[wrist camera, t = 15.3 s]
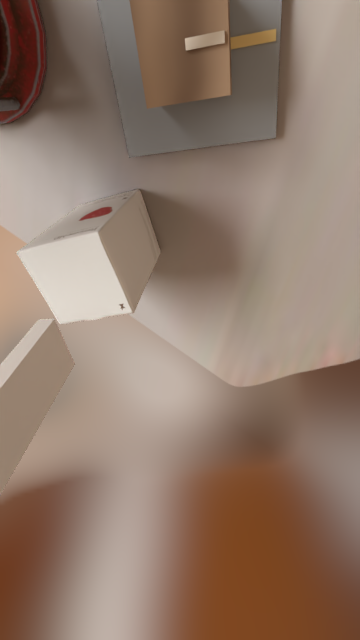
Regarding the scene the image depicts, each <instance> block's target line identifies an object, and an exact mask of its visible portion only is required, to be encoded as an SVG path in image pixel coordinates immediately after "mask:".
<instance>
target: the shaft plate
mask: <svg viewBox="0 0 360 640" xmlns="http://www.w3.org/2000/svg"><path fill="white" fill-rule="evenodd" d="M229 1H230V39H231V76H232V95H228V96H222V97H216V98H210V99H204V100H198V101H191V102H185V103H179V104H173V105H167V106H161V107H155V108H148V109H147V106H146V100H145V94H144V88H143V82H142V75H141V69H140V63H139V57H138V51H137V45H136V38H135V32H134V26H133V20H132V14H131V7H130V1H129V0H97V3H98V8H99V13H100V18H101V23H102V27H103V32H104V37H105V42H106V47H107V52H108V57H109V61H110V66H111V71H112V76H113V81H114V86H115V91H116V96H117V100H118V105H119V110H120V115H121V120H122V125H123V130H124V134H125V139H126V144H127V149H128V154H129V158H130V157H137V156H145V155H152V154H160V153H167V152H175V151H182V150H190V149H197V148H204V147H212V146H219V145H227V144H234V143H242V142H249V141H257V140H264V139H272V138H276V123H277V100H278V78H279V55H280V33H281V10H282V0H229Z"/></svg>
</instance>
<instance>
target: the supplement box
mask: <svg viewBox="0 0 360 640" xmlns="http://www.w3.org/2000/svg"><path fill="white" fill-rule="evenodd" d="M160 253H161V251H160V248H159V245H158V242H157V239H156V236H155V233H154V230H153V227H152V224H151V221H150V218H149V215H148V212H147V209H146V206H145V202H144V199H143V197H142V194H141V191H140V189H136V190H132V191H128V192H125V193H121V194H117V195H114V196H110V197H106V198H103V199H99V200H95V201H92V202H88V203H85V204H81V205H79V206H78V207H76V208H75V209H74V210H72V211H71V212H69V213H68V214H67V215H65V216H64V217H63V218H61V219H60V220H59V221H57V222H56V223H55V224H53V225H52V226H51V227H49V228H48V229H47V230H46V231H44V232H43V233H41V234H40V235H39V236H38V237H36V238H35V239H34V240H32V241H31V242H30V243H28V244H27V245H25V246H24V247H23V248H21V249H20V250H19V251H17V255H18V256H19V257H20V259H21V261H22V263H23V265H24V266H25V268H26V270H27V271H28V273H29V274H30V276H31V277H32V279H33V280H34V282H35V284H36V285H37V287H38V289H39V290H40V292H41V294H42V295H43V297H44V298H45V300H46V302H47V303H48V305H49V307H50V309H51V310H52V312H53V314H54V315H55V317H56V319H57V320H58V322H59V323H60V324H68V323H74V322H80V321H85V320H98V319H101V318H105V317H111V316H118V315H124V314H130V313H134V311H135V309H136V307H137V304H138V302H139V300H140V298H141V295H142V293H143V291H144V289H145V286H146V284H147V282H148V280H149V278H150V275H151V273H152V271H153V269H154V266H155V264H156V262H157V260H158V258H159V255H160Z"/></svg>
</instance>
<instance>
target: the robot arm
mask: <svg viewBox="0 0 360 640" xmlns="http://www.w3.org/2000/svg"><path fill="white" fill-rule="evenodd" d="M74 365H75V363H74V361H73V359H72V357H71V354H70V352H69V350H68V348H67V345H66V343H65V341H64V339H63V337H62V334H61V332H60V330H59V328H58V326H57V324H56V322H55V320H54V319H39V320H38V321H37V322H36V323H35V324H34V326H33V327H32V328H31V329H30V330H29V332H28V333H27V334H26V335H25V336H24V337H23V339H22V340H21V341H20V342H19V343H18V345H17V346H16V347H15V348H14V349H13V350H12V352H11V353H10V354H9V355H8V356H7V358H6V359H5V360H4V361H3V362H2V364H1V365H0V495H1V493H2V491H3V490H4V488H5V486H6V484H7V483H8V481H9V479H10V477H11V475H12V474H13V472H14V470H15V468H16V467H17V465H18V463H19V461H20V460H21V458H22V456H23V454H24V453H25V451H26V449H27V447H28V446H29V444H30V442H31V440H32V439H33V436H34V435H35V433H36V432H37V430H38V428H39V426H40V425H41V423H42V421H43V419H44V418H45V416H46V414H47V412H48V411H49V409H50V407H51V405H52V404H53V402H54V400H55V398H56V396H57V395H58V393H59V391H60V389H61V388H62V386H63V384H64V383H65V381H66V379H67V377H68V375H69V373H70V372H71V370H72V369H73V367H74Z"/></svg>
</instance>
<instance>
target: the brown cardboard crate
mask: <svg viewBox="0 0 360 640" xmlns="http://www.w3.org/2000/svg"><path fill="white" fill-rule="evenodd" d="M129 1H130V7H131V14H132V20H133V26H134V32H135V38H136V45H137V51H138V57H139V63H140V69H141V75H142V82H143V88H144V94H145V100H146V106H147V109H148V108H155V107H161V106H167V105H173V104H179V103H185V102H191V101H198V100H204V99H210V98H216V97H222V96H228V95H232V76H231V39H230V1H229V0H129Z"/></svg>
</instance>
